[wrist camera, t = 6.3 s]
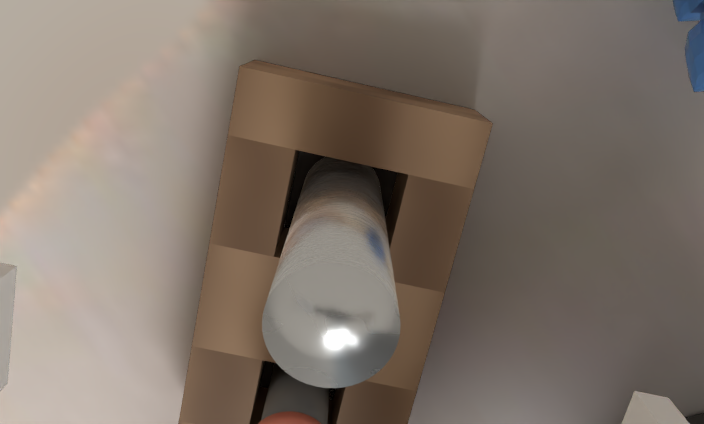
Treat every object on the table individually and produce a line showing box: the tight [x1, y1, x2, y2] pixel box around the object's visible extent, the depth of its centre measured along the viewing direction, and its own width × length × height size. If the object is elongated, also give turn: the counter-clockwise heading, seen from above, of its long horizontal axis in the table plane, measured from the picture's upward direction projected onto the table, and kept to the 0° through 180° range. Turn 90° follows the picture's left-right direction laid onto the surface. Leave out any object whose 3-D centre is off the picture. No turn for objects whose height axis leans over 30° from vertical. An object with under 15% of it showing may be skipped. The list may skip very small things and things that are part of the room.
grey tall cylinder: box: [262, 157, 400, 388], centre depth 24 cm, size 4×4×14 cm
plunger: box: [258, 363, 330, 424], centre depth 29 cm, size 3×3×7 cm
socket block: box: [178, 60, 493, 424], centre depth 30 cm, size 10×18×4 cm, turn 167°
